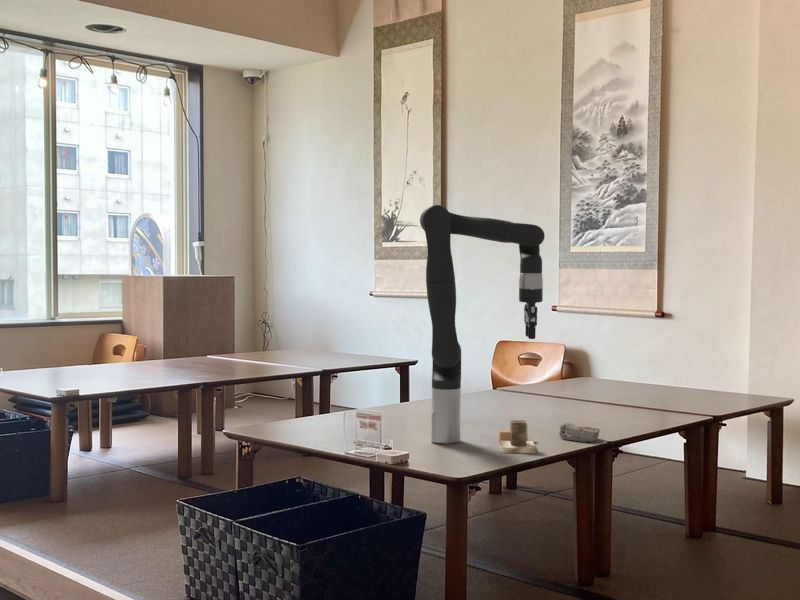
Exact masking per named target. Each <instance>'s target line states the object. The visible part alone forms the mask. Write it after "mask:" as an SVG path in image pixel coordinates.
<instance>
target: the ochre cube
mask: <svg viewBox="0 0 800 600" xmlns="http://www.w3.org/2000/svg"><path fill="white" fill-rule="evenodd" d="M500 441H510V429H499V430H498V443H499V444H500Z"/></svg>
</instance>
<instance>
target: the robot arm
mask: <svg viewBox="0 0 800 600" xmlns="http://www.w3.org/2000/svg"><path fill="white" fill-rule="evenodd" d="M419 224H420V227H421V228H422V230H423V231H424V233H425V239H426V247H427V258H426V267H425V270H426V271H425V282H426V283H425V285H426V295H427V303H428V308H429V309H428V310H429V315H430V319H431V328H432V330H431V334H432V336H431V338H432V339H431V341H432V343H431V357H432V369H431V371H432V373H431V433H430V434H431V435H430V436H431V441H430V442H431V443H437V444H456V443H460V442H461V410H462V409H461V407H462V406H461V397H462V396H461V394H462V393H461V391H462V390H461V386H462V384H461V382H462V346H461V345H460V343H459V341H458V336H457V335H458V333H457V328H456V314H457V313H456V312H457V286H456V276H455V268H454V262H453V255H452V250H451V249H452V248H451V235H459V236H466V237H472V238H476V239H482V240H487V241H490V242H498V243H504V244H505V243H506V244H510V243H511V244H517V245H518V248H519V257H520V258H519V259H520V261H519V262H520V263H519V278H518V279H519V280H518V283H519V284H518V301H519V302H520V303H526V304H524V307H523V313H524V314H523V315H524V316H523V318H524V319H523V322H524V325H525V336H526V337H528V339H529V340H535V339H536V331H537V330H536V327H537V324H538V307H537V306H536V303H542V302H543V297H544V296H543V292H544V291H543V289H544V288H543V287H544V286H543V285H544V282H543V281H544V280H543V259H542V256H541V255H540V252H541V251H540V249H541V248H540V245H541V244H542V243H543V241H544V240H545V232H544V230H543V228H542V227H541V226H539V225H537V224H531V223H522V222H513V221H508V220H503V219H497V218H492V217H491V218H489V217H480V216H479V217H478V216H468V215H462V214H461V215H460V214H456V213H454V212H450V211H449V210H448V209H447V208H446V207H444V205H441V204H433V205H430V206H428V207H427V208H425V209H424V210H423V212H421V214H420V217H419Z"/></svg>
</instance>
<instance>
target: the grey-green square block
mask: <svg viewBox="0 0 800 600" xmlns="http://www.w3.org/2000/svg"><path fill="white" fill-rule="evenodd" d="M526 441H529V424H527V433H526Z"/></svg>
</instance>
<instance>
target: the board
mask: <svg viewBox="0 0 800 600" xmlns="http://www.w3.org/2000/svg"><path fill="white" fill-rule="evenodd" d="M499 445H500V447H501V450H502V454H503V453H504V454H505V453H506V454H510V453H511V454H537V446H536V445H535V443H534V441H533V440H528V441H526V446H511V443H510V441H500V443H499Z"/></svg>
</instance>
